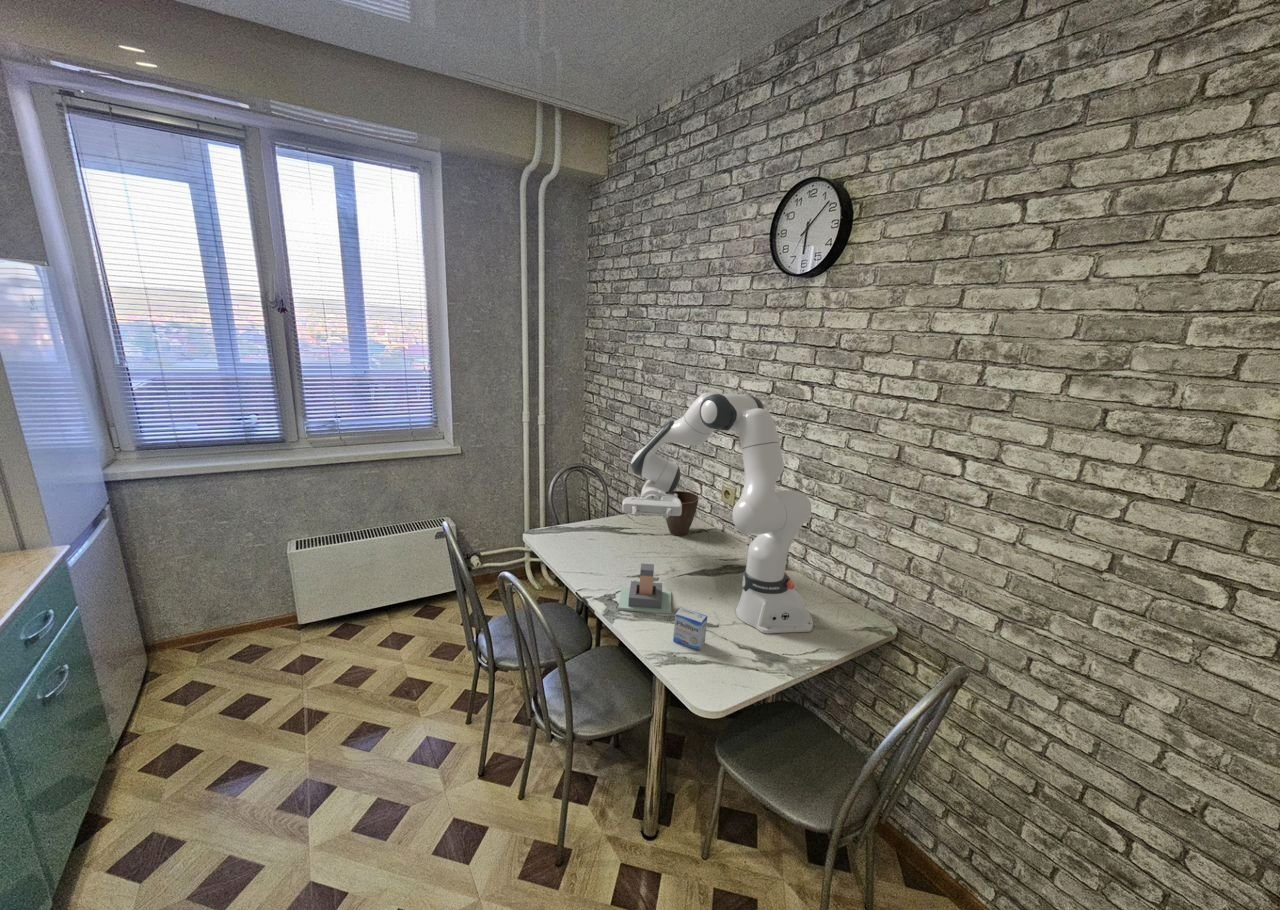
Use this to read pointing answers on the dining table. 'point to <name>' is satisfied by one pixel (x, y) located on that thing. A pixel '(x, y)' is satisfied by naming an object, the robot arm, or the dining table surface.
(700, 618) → the medicine box
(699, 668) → the dining table surface
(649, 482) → the robot arm
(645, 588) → the plug
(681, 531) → the plant pot
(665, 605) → the board
